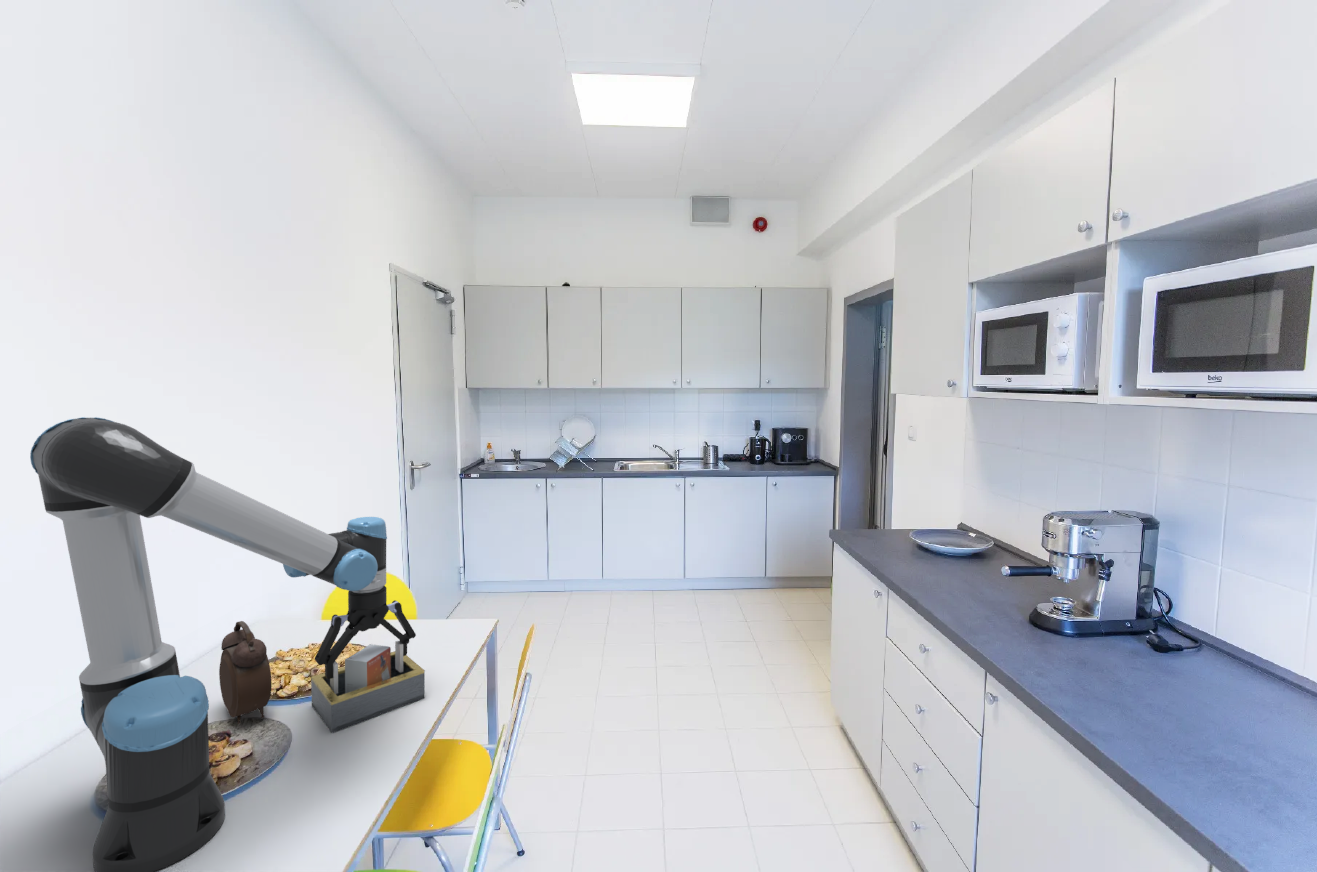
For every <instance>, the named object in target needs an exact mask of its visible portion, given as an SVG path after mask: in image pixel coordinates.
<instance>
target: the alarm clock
mask: <svg viewBox="0 0 1317 872" xmlns="http://www.w3.org/2000/svg"><path fill="white" fill-rule="evenodd" d="M220 649H221V651H222V652H221V656H220V662H219V669H218V671H219V672H218V675H219V686H220V687H219V688H220V692H221V697H222V701H223V703H224V706H225V707H226V711H227V713H228V715H229V716H230V718H236V719H237V725H241V723H242V721H241V719H242V716H244V715H248V714H251V713H252V712H255V711H258V712H259V714H260V719H264V718H265V714H264V713H265V712H264V711H265V710H264V709H265V708H264V707H266V706H267V705H268V704H269V702H270V701H269V700H270V698H271V696H272V687H273V686H272V672H271V666H270V661H269V657H268V654H267V646H266V644H265V642H263V640H262V639H258V638H256V637H255V635H254V633H253V632H252V631H251V628H250V627H249V625H248V624H247V623H246V622H245V621H243V620H240V621H236V622H235V625H234V628H233V631H231V632H229V633H227V634H226V635H225V636H224V637H223V639H222V641H221V648H220Z"/></svg>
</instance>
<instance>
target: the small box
mask: <svg viewBox="0 0 1317 872" xmlns="http://www.w3.org/2000/svg"><path fill="white" fill-rule="evenodd" d="M391 648H392V647H391V646H388V645H387V646H386V645H380V644H373V643H371V644H368V645H367V646H365V647H364V648H361V650H359V651H357V652H356V653H354V654H352V655H350V656H349V657H347V658H345V659H344V667H345V694H346V693H349V692H352V691H355V690H357V689H360V688H363V687H366V686H369V685H372V684H375V683H378V682H381V681H384V680H387V679H390V678H391V652H392V650H391Z"/></svg>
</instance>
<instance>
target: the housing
mask: <svg viewBox="0 0 1317 872" xmlns="http://www.w3.org/2000/svg"><path fill="white" fill-rule="evenodd" d="M425 672H426V671H425V669H423V668H422V667H421V666H420V665H419V664H417V662H415V661H414V659H412V658H411V657H410V656H408V655H405V656H403V672H401V673H400V672H399V671H398V670H396V669H395V651H391V678H390V679H387V680H384V681H381V682H378V683H375V684H372V685H369V686H366V687H363V688H360V689H357V690H355V691H352V692H349V693H346V694H345V666H343V667H338V693H337V694H335V693H334V692H333V690H332V689H331V688H330V679H327V678H326V676H325V672H323V673H320V674H317V675H313V676H310V680H311V681H310V683H311V684H310V686H311V689H310V690H311V707H312V708H313V710H314V711H315V712H316V714H317V715H318V717H319V718H320V719H321V721H322V722H323V723H324V725H325V726H326V728H327V729H328V731H329V732H330V733H331V734H334V733H337V732H340V731H342V730H346V729H348V728H350V727H353V726H355V725H357V724H360V723H364V722H365V721H368V720H371V719H374V718H376V717H378V716H382V715H384V714H387V713H389V712H392V711H394V710H397V709H401V708H403V707H405V706H407V705H411V704H413V703H416V702H418V701H421V700H424V699H425V698H426V697H425V685H426V684H425V675H426V674H425Z"/></svg>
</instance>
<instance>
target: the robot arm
mask: <svg viewBox="0 0 1317 872" xmlns="http://www.w3.org/2000/svg"><path fill="white" fill-rule="evenodd" d="M30 464H31V466H32V468H33V470H34V472H35V473H36V474H37V475H38V480H39V485H40V490H41V491H40V492H41V494H42V499H43V500H42V501H43V505H44V510H45V513H47V514H49V515H51V516H53V517H56V518H58V519H60V520H61V521H62V525H63V528H64V534H65V541H66V545H67V550H68V555H69V560H70V565H71V570H72V575H73V580H74V586H75V591H76V597H77V600H78V605H79V611H80V612H79V613H80V615H81V616H80V617H81V622H82V627H83V631H84V637H85V642H86V647H87V652H88V657H89V658H88V659H89V663H88V665H86V667H85V668H84V669H83V670H82V671H81V672H80V674H79V676H78V680H79V684H80V690H81V696H82V699H81V706H80V715H81V717H82V721H83V722H84V724H85V726H86V727H87V729H89V731H90V733H91V735H92V736H93V738H94V740H95V741H96V744H97V746H98V747H99V750H100V752H101V754H102V756H103V758H104V763H105V774H106V775H105V777H106V795H107V810H106V812H105V815H104V817H103V820H102V823H101V825H100V828H99V831H98V834H97V837H96V839H95V842H94V846H93V849H92V862H93V863H92V865H93V870H94V871H95V872H156V871H159V870H162V869H164V868H166V867H169V866H171V865H173V864H174V863H177V862H179V861H181V860H182V859H184V858H186V857H188V856H189V855H191V854H193V853H194V852H196V851H197V850H199V849H200V848H201V847H202V846H203V845H205V844H206V843H207V842H209V840H211V839H212V838H213V837H214V836H215V834H216V833H218V832H219V830H220V829H221V828H222V826H223V824H224V821H225V818H226V811H225V810H226V809H225V808H226V807H225V805H226V804H225V799H224V796H223V794H222V793H221V791H220V789H219V787H218V785H217V783H216V782H215V780H214V778H213V777H212V775H211V771H210V745H209V744H210V743H209V742H210V741H209V738H210V737H209V715H208V713H209V712H208V711H209V707H210V703H209V702H210V701H209V696H208V694H207V689H206V687H205V685H204V683H203V682H202V681H201V680H199V679H198V678H195V677H193V676H191V675H183V676H181V675H180V669H179V663H178V657H177V652H176V647H175V646H174V645H171V644H169V643H167V642H163V641H162V637H161V636H162V635H161V630H160V624H159V619H158V618H159V617H158V613H157V608H156V603H155V602H156V601H155V596H154V590H153V585H152V584H153V583H152V577H151V573H150V568H149V567H150V566H149V561H148V560H149V559H148V555H147V548H146V544H145V543H146V542H145V538H144V530H143V526H142V520H141V516H142V517H144V518H146V519H152V518H154V517H159V516H160V517H161V516H162V517H165V518H166V519H169V520H171V521H174V522H176V523H180V524H182V525H184V526H187V527H190V528H192V529H195V530H197V531H199V532H201V533H202V532H203V533H204V534H207V535H209V536H212V537H215V538H216V539H220V540H222V541H225V542H228V543H229V544H232V545H235V546H237V547H240V548H242V549H245V550H247V551H250V552H252V553H255V554H257V555H260V556H261V557H264V558H266V559H267V558H268V559H270V560H271V561H275V562H278V563H280V564H282V566H283V570H284V571H285V573H286V575H287V576H289V577H290V578H299V577H303V578H304V577H305V578H306V577H308V576H312V577H315V578H316V579H320V580H321V581H324V582H327V583H329V584H332V585H334V586H336V587H337V588H338V589H340V590H344V591H345V590H346V591H348V593H347V595H348V596H347V605H348V606H347V607H348V609H347V612H346V614H343V615H338V614H333V615H332V616H331V621H330V626H329V628H328V630H327V632H326V635H325V637H324V638H323V641H322V642H321V643H320V644H321V645H320V647H319V649H318V651H317V653H316V655H315V656H314V661H315V662H316V663H317V664H318V665H319V666H321V665H324V673H325V676H326V678H327V679H330V688H331V689H332V690H333V692H334V693H335V694H337V693H338V669H339V663H338V661H336V660H337V659H338V658H339V656H340V655H341V654H342V653H343V651H344V649H346V648H347V646H348V644H349V643H350V642H351V640H353V638H354V637H355V636H357V634H359V632H361V633H363V632H366V631H368V630H373V629H377V628H378V627H379V626H380V625H381V626H383V627H384V629H386V630H387V631H389V633H391V634H392V635H393V636H394V637H396V638H397V639H398V640H396V641H395V642H394V644H395V646H394V648H395V669H396V670H398V671H399V672H400V673H401V672H403V656H405V655H407V654H408V644H410V640H411V639H414V638H415V637H416V636H417V634H416V632H415V631H414V629H413V627H412V626H411V624H410V622H409V620H408V619H407V617H406V616H405V614H404V613H403V607H402V603H401V602H399V601H398V600H393V601H392V602H390V603H389V604H387V586H386V584H387V539H388V536H387V525H386V521H385V520H384V519H383V518H381V517H379V516H362V517H356V518H353V519H350V520H349V521H348V522H347V525H346V530H342V531H340V532H338V531H337V532H332V533H326V532H324V531H322V530H320V529H317V528H316V527H314V526H311V525H309V524H307V523H305V522H303V521H301V520H299V519H296V518H294V517H293V516H290V515H288V514H285V513H284V512H281V511H279V510H277V509H275V508H274V507H271V506H269V505H266V504H265V503H262V502H260V501H258V500H256V499H254V498H252V497H250V496H247V495H245V494H243V493H241V492H239V491H237V490H235V489H234V488H231V487H229V486H227V485H224V484H221V483H220V482H218V481H216V480H214V479H211V478H209V477H207V476H205V475H203V474H200V473H199V472H197V471H196V468H195V464H194V462H192V461H190V460H187V459H185V458H183V457H182V456H180V455H178V454H176V453H174V452H172V451H170V450H168V449H167V448H166V447H163V446H162V445H161V444H158V443H157V442H156V441H154V440H153V439H151V438H150V437H148V436H147V435H145V434H143V433H142V432H141V431H139V430H137V429H136V428H133V427H131V426H129V425H127V424H125V423H121V422H117V421H116V422H115V421H113V420H110V419H106V418H103V417H97V416H96V417H85V416H84V417H77V418H69V419H67V420H63V421H60V422H57V423H55V424H54V425H52V426H49V427H48V428H47V429H45V430H44V431H42V433H41V434H40V435H39V436H37V438H36V439H35V441H34V442H33V444H32V447H31V450H30ZM389 611H390V612H391V613H392V614H393V615H394V616H395V617H396V619H397V621H398V622H399V624H400V626H401V628H402V630H403V631H404V632H405V633H401V632H400V631H399V630H398V629H397V628H396V627H394V626H393V625H392V624H391V623H390V622H389V621H388V620H386V616H387V614H388V612H389ZM345 622H348V625H347V626H346V627H345V629H344V632H343V633H342V634H341V635H340V637H339V638H338V639H337V637H338V635H339V633H340V631H341V627H343V626H344V624H345ZM336 640H337V641H336ZM335 641H336V642H335ZM407 656H408V655H407Z"/></svg>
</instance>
